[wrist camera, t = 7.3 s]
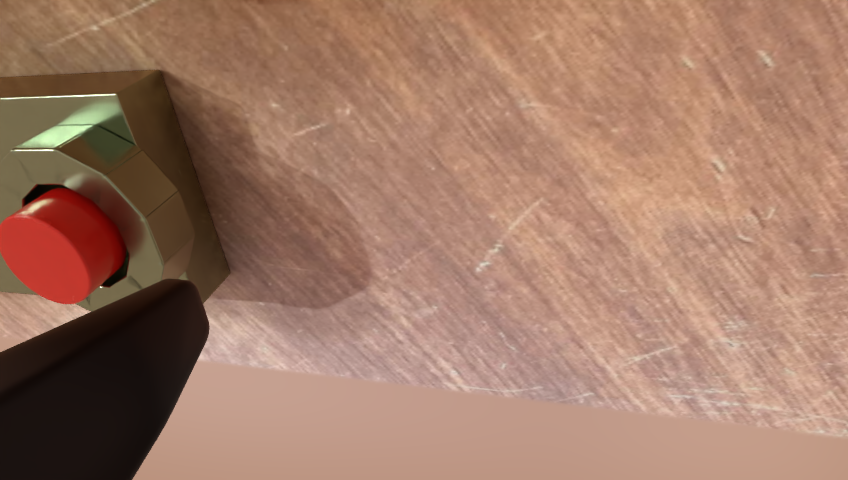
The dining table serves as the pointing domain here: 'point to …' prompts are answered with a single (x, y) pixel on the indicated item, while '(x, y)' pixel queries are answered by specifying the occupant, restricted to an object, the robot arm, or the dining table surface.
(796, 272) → the dining table surface
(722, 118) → the dining table surface
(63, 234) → the button
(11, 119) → the button block
